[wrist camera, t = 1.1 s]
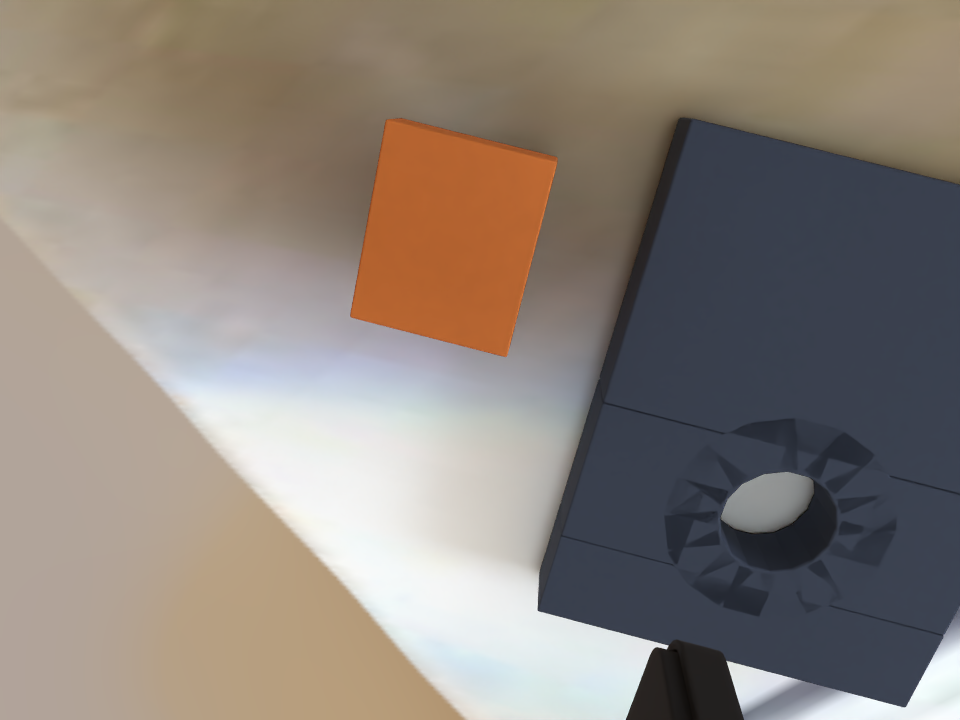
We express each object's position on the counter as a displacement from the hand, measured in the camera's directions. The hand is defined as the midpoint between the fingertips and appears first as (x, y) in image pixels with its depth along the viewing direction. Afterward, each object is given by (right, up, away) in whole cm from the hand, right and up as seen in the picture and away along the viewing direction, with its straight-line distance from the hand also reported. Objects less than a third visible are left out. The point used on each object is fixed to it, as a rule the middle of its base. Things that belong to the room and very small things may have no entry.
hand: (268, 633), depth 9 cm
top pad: (+2, +8, +17) cm, 19 cm away
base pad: (+14, +1, +18) cm, 23 cm away
